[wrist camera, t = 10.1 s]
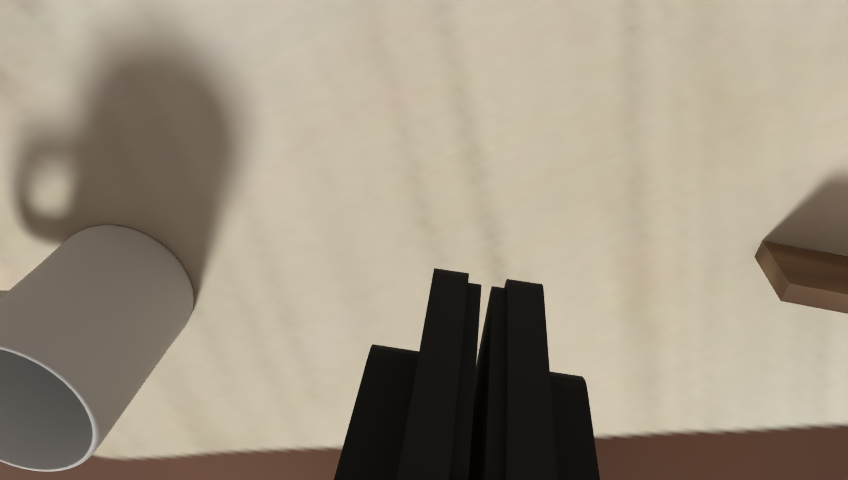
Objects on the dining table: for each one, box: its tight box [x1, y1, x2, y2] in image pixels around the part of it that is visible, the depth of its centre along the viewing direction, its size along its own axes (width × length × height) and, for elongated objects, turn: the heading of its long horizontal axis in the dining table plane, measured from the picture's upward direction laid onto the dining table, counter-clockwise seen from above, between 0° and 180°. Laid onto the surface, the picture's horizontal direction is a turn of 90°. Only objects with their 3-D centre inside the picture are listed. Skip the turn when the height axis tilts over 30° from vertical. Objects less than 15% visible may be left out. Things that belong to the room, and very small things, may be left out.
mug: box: [0, 225, 194, 471], centre depth 36 cm, size 12×8×11 cm
